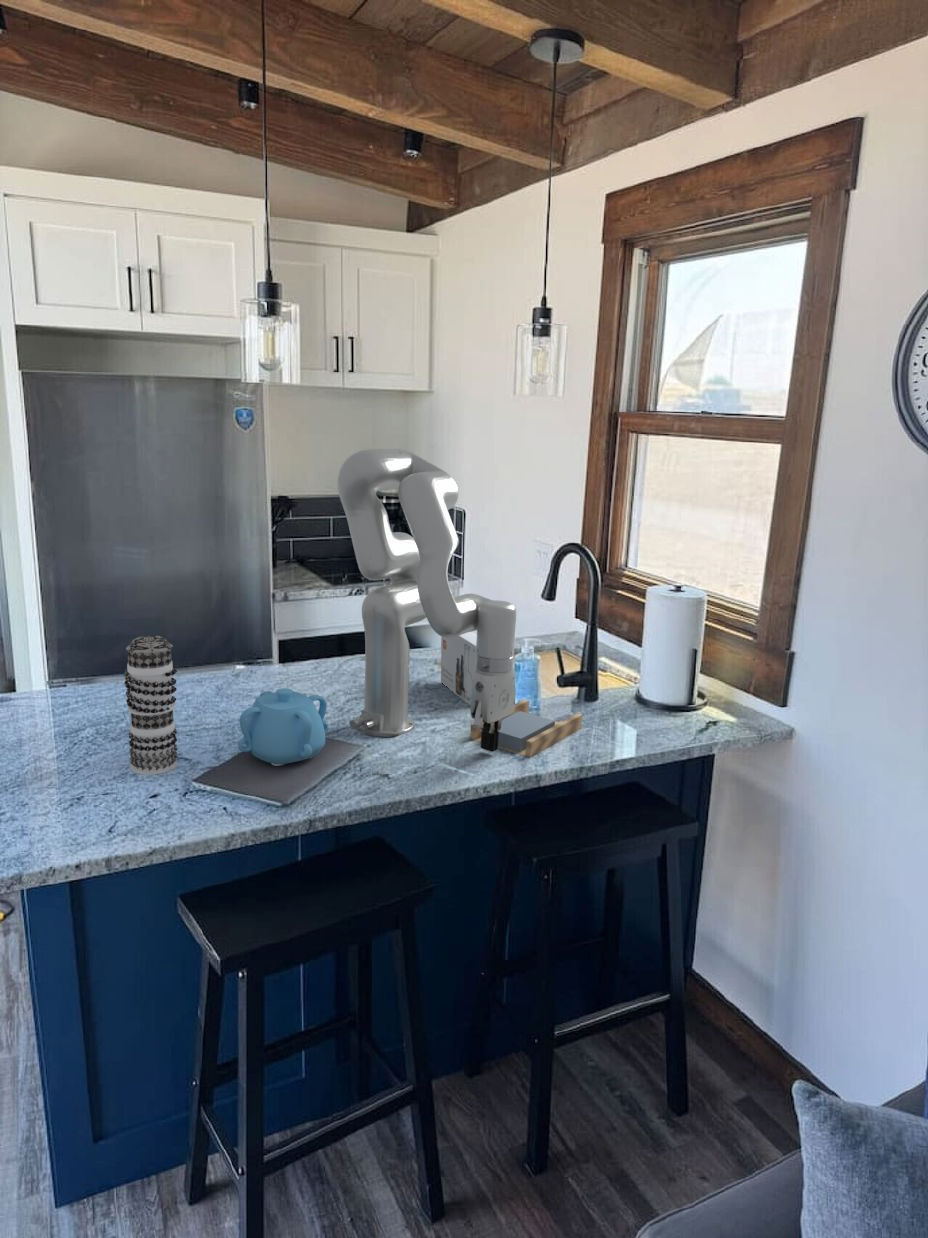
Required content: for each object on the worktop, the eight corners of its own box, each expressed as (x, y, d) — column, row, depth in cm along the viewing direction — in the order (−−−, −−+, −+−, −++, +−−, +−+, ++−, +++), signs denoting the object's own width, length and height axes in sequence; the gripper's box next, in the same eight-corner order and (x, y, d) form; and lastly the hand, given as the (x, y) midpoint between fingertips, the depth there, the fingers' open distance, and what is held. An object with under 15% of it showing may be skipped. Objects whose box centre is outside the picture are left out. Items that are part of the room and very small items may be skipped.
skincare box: (438, 683, 218) (440, 623, 214) (457, 681, 220) (460, 622, 216) (473, 710, 199) (476, 645, 195) (493, 708, 201) (497, 643, 198)
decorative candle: (162, 752, 167) (157, 629, 161) (189, 766, 161) (185, 639, 155) (118, 765, 160) (112, 638, 154) (145, 780, 154) (139, 648, 148)
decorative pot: (227, 765, 162) (225, 698, 159) (263, 735, 178) (262, 673, 174) (307, 776, 159) (307, 708, 156) (336, 745, 175) (337, 682, 171)
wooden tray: (530, 759, 172) (531, 742, 171) (470, 741, 180) (470, 724, 179) (581, 730, 189) (582, 714, 188) (524, 714, 198) (525, 699, 197)
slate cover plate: (520, 752, 174) (521, 738, 173) (484, 741, 179) (485, 727, 178) (554, 733, 185) (555, 720, 184) (519, 723, 190) (520, 711, 190)
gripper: (488, 675, 160) (483, 765, 164) (530, 659, 172) (524, 743, 176) (456, 666, 164) (452, 754, 169) (499, 652, 176) (494, 734, 180)
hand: (489, 748), depth 172 cm, fingers closed
